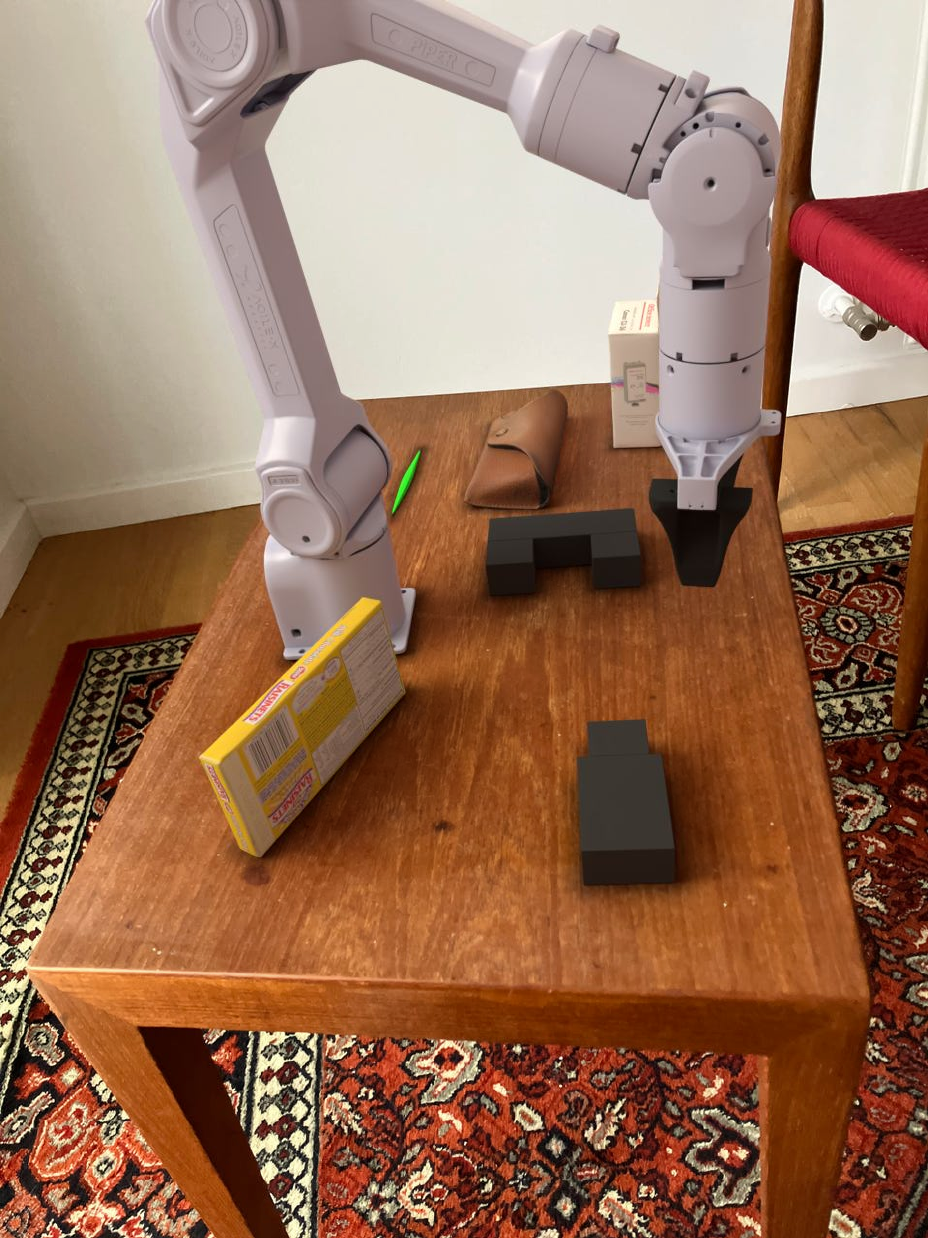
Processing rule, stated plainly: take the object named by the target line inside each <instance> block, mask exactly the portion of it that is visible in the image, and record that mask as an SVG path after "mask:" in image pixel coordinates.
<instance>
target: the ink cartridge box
mask: <svg viewBox="0 0 928 1238" xmlns="http://www.w3.org/2000/svg"><path fill="white" fill-rule="evenodd" d="M656 287H657V288H656V294H655V299H640V300H638V299H637V300H621V301H616V302H615V304H614V307H613V311H612V315H611V318H610V322H609V326H608V332H607V339H608V352H609V353H608V354H609V372H610V373H609V375H610V391H611V392H610V393H611V414H612V415H611V416H612V417H611V419H612V435H613V436H612V439H613V440H612V441H613V448H614V449H624V448H625V449H627V448H628V449H629V448H631V449H632V448H660V447H663V446H662V444H661V442H660V440H659V438H658V436H657V434H656V429H655V420H656V415H657V413H658V412H659V280H658V282H657V286H656Z"/></svg>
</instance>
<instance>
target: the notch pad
mask: <svg viewBox="0 0 928 1238" xmlns="http://www.w3.org/2000/svg"><path fill="white" fill-rule="evenodd" d="M635 513H636V512H635V509H634V508H633V507H630V508H629V507H628V508H615V509H613V508H612V509H603V510H602V509H601V510H589V511H587V510H586V511H576V512H575V511H574V512H560V513H546V514H531V515H518V516H517V515H516V516H504V517H490V518H489V519H488V520H489V521H488V530H487V542H486V543H487V544H486V556H485V572H486V573H485V574H486V579H487V587H488V595H489V596H506V595H521V594H535V593H536V591H537V590H536V589H537V587H536V586H537V585H536V583H537V582H536V581H537V579H536V578H537V574H536V573H537V569H547V568H562V567H563V568H564V567H577V566H580V567H581V566H591V570H592V583H593V589H594V590H602V589H618V588H635V587H641V586H642V553H641V548H640V541H639V533H638V527H637V521H636V514H635Z"/></svg>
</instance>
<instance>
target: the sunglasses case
mask: <svg viewBox="0 0 928 1238" xmlns="http://www.w3.org/2000/svg"><path fill="white" fill-rule="evenodd" d="M568 415H569V403H568V400H567V398H566V396H565V394H563V393H562V391H560V390H558V389H557V388H549V389H548V390H546V391H544V392H543V393H541V394H539V395H538V396H536V397H534V398H533V399H531V400H530V401H529V402H527V403H526V404H525V405H523V406H521V407H519V408H515V409H514V410H512V411H510V412H507V413H506V414H503V415H501V416H498V417H497V418H495V419H493V420H492V421H491V423H490V425H489V429H488V432H487V436H486V440H485V442H484V444H483V445H484V446H483V447H482V451H481V453H480V456H479V459H478V461H477V464H476V466H475V469H474V472H473V474H472V476H471V479H470V481H469V484H468V486H467V487H466V491H465V494H464V499H463V503H464V504H467V505H469V506H472V507H477V508H486V509H492V510H493V509H494V510H519V511H520V510H522V511H523V510H524V511H525V510H526V511H527V510H528V511H529V510H530V511H531V510H535V511H537V510H540V509H541V508H543V507H545V506H546V505H547V504H548V503H549V501H550V500H551V499H552V494H553V491H554V485H555V480H556V476H557V475H556V473H557V470H558V464H559V460H560V454H561V448H562V443H563V440H564V439H563V438H564V434H565V429H566V426H567V425H566V424H567V421H568Z"/></svg>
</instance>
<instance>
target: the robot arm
mask: <svg viewBox="0 0 928 1238" xmlns="http://www.w3.org/2000/svg"><path fill="white" fill-rule="evenodd" d="M144 25H145V27H146V30H147V33H148V36H149V39H150V42H151V45H152V47H153V50H154V53H155V55H156V58H157V62H158V93H159V94H158V114H159V115H158V121H159V122H158V123H159V133H160V137H161V142H162V145H163V149H164V151H165V154H166V156H167V159H168V162H169V164H170V165H169V166H170V168H171V170H172V173H173V176H174V178H175V180H176V183H177V187H178V189H179V192H180V194H181V197H182V200H183V202H184V205H185V208H186V210H187V213H188V216H189V219H190V221H191V224H192V227H193V229H194V232H195V236H196V238H197V241H198V243H199V246H200V249H201V251H202V254H203V257H204V260H205V262H206V265H207V267H208V270H209V273H210V276H211V278H212V281H213V284H214V286H215V289H216V292H217V294H218V297H219V300H220V303H221V306H222V308H223V311H224V314H225V316H226V319H227V322H228V324H229V327H230V329H231V332H232V335H233V338H234V341H235V343H236V346H237V349H238V352H239V354H240V357H241V359H242V362H243V365H244V369H245V371H246V373H247V376H248V379H249V381H250V384H251V387H252V389H253V392H254V395H255V398H256V400H257V403H258V405H259V408H260V411H261V414H262V417H263V420H264V422H263V428H262V432H261V437H260V441H259V446H258V450H257V454H256V457H255V458H256V459H255V465H254V469H255V472H256V475H257V478H258V480H259V483H260V488H261V498H260V505H259V506H260V514H261V519H262V522H263V524H264V526H265V528H266V530H267V531H268V533H269V535H268V537H267V538H266V542H265V547H264V552H263V553H264V554H263V571H264V581H265V586H266V590H267V592H268V596H269V600H270V602H271V605H272V610H273V612H274V616H275V620H276V622H277V625H278V628H279V632H280V635H281V638H282V641H283V645H284V649H283V657H284V658H283V659H285V660H287V661H293V660H296V661H297V660H299V659H300V658H301V657H302V656H303V655H304V654H306V653H307V652H308V651H309V650H310V649H311V648H312V647H313V646H314V645H315V644H316V643H317V642H318V641H319V640H320V639H321V638H322V637H323V636H324V635H325V634H326V633H327V632H328V631H329V630H330V629H331V628H332V627H333V626H334V625H335V624H336V623H337V622H338V621H339V620H340V619H341V618H342V617H343V616H344V615H345V614H346V613H347V612H348V611H349V610H350V609H351V608H352V607H353V606H354V605H355V604H356V603H357V602H359V601H360V600H361V598H362V597H365V598H370V599H375V600H380V601H381V603H382V607H383V611H384V615H385V618H386V622H387V626H388V630H389V633H390V637H391V641H392V644H393V648H394V652H395V655H401V654H404V653H405V652H406V651H407V648H408V643H409V636H410V630H411V626H412V618H413V613H414V608H415V602H416V597H417V592H416V589H415V588H413V587H405V588H404V587H403V588H402V587H401V583H400V577H399V572H398V567H397V562H396V557H395V553H394V547H393V543H392V538H391V537H392V536H391V534H390V528H389V523H388V518H387V513H386V510H385V500H384V495H383V492H382V491H383V490H384V489H385V488H386V487H387V486H388V484H389V482H390V480H391V478H392V474H393V459H392V456H391V453H390V451H389V448H388V446H387V444H386V443H385V442H384V440H383V439H382V438H381V437H380V436H379V434H378V433H377V432H376V431H375V430H374V428H373V426H372V425H371V423H370V421H369V418H368V415H367V412H366V409H365V407H364V404H363V403H361V402H360V401H358V400H356V399H354V398H351V397H350V396H347V395H345V394H344V393H342V390H341V387H340V384H339V381H338V378H337V375H336V372H335V368H334V365H333V361H332V359H331V356H330V352H329V349H328V346H327V342H326V340H325V336H324V333H323V330H322V327H321V324H320V321H319V317H318V314H317V311H316V308H315V307H316V306H315V304H314V301H313V298H312V294H311V292H310V288H309V285H308V282H307V279H306V275H305V272H304V270H303V266H302V263H301V260H300V256H299V253H298V249H297V246H296V244H295V241H294V238H293V235H292V231H291V228H290V225H289V221H288V218H287V215H286V212H285V208H284V205H283V203H282V200H281V196H280V193H279V189H278V187H277V183H276V180H275V177H274V173H273V170H272V167H271V164H270V161H269V158H268V155H267V150H266V145H267V141H268V139H269V137H270V135H271V133H272V132H273V130H274V128H275V126H276V123H277V122H278V120H279V118H280V117H281V115H282V113H283V110H284V109H285V107H286V105H287V103H288V101H289V100H290V97H291V95H292V94H293V93H294V92H295V91H296V90H297V89H298V88H299V87H300V86H301V85H302V84H304V83H305V81H307V79H309V78H310V77H311V76H312V75H313V74H315V73H316V71H318V70H321V69H324V68H328V67H333V66H337V65H342V64H347V63H352V62H355V61H367V62H370V63H373V64H375V65H379V66H382V67H384V68H387V69H389V70H392V71H394V72H397V73H400V74H401V75H405V76H407V77H410V78H413V79H415V80H418V81H421V82H422V83H425V84H427V85H431V86H432V87H433V86H434V87H437V88H438V89H442V90H444V91H447V92H449V93H451V94H454V95H457V96H460V97H462V98H465V99H468V100H470V101H473V102H475V103H477V104H481V105H483V106H485V107H488V108H491V109H494V110H496V111H499V112H501V113H504V114H506V115H507V116H508V117H509V119H510V121H511V123H512V125H513V127H514V129H515V132H516V134H517V136H518V138H519V142H520V143H521V145H522V147H523V149H524V150H525V151H526V152H527V153H529V154H532V155H534V156H536V157H539V158H540V159H543V160H545V161H547V162H549V163H552V164H554V165H556V166H558V167H561V168H563V169H564V170H567V171H570V172H572V173H574V174H577V175H579V176H581V177H583V178H585V179H588V180H589V181H592V182H594V183H596V184H599V185H601V186H604V187H605V188H608V189H610V190H612V191H615V192H616V193H619V194H621V195H623V196H626V197H628V198H630V199H633V200H637V201H638V200H645V201H646V200H647V201H649V203H650V207H651V210H652V212H653V214H654V217H655V219H656V220H657V222H658V224H660V226H661V227H662V259H661V260H660V263H659V268H658V270H659V271H658V281H659V412H658V413H657V415H656V420H655V429H656V434H657V436H658V438H659V440H660V442H661V444H662V446H661V447H662V448H663V450H664V451H665V454H666V456H667V457H668V460H669V461H670V463H671V465H672V467H673V470H674V472H675V473H676V476H677V478H652V479H651V482H650V486H649V490H648V504H649V508H650V510H651V512H652V513H653V514H654V516H655V517H656V518H657V520H658V521H659V522H660V524H661V526H662V527H663V530H664V532H665V534H666V536H667V539H668V542H669V545H670V549H671V552H672V557H673V560H674V566H675V569H676V574H677V577H678V580H679V582H680V585H681V586H682V587H695V588H696V587H697V588H715V587H716V586H717V584H718V581H719V579H720V577H721V574H722V569H723V566H724V561H725V558H726V554H727V551H728V546H729V544H730V541H731V539H732V536H733V535H734V532H735V530H736V529H737V527H738V526H739V524H740V523H741V522H742V520H743V519H744V518H745V517H746V516H747V514H748V512H749V509H750V508H751V505H752V503H753V493H754V488H753V487H742V486H741V487H740V486H735V484H736V479H737V476H738V472H739V470H740V469H739V468H740V465H741V462H742V460H743V457H744V455H745V453H746V451H747V450H748V449H749V448H750V447H751V446H752V445H753V444H754V443H755V442H756V441H757V440H758V439H759V438H760V437H774V436H775V437H776V436H777V435H779V434H780V432H781V425H782V413H781V412H780V411H779V410H776V409H764V408H761V407H762V395H763V393H762V392H763V380H764V367H765V354H766V341H767V327H768V316H769V315H768V312H769V300H770V285H771V272H772V271H771V270H772V256H771V253H770V251H769V248H768V247H769V246H770V243H771V241H772V233H773V232H772V231H773V222H772V218H771V216H770V213H771V212H770V211H771V206H772V204H773V202H774V199H775V196H776V193H777V188H778V184H779V183H778V182H779V180H778V178H777V175H778V172H779V168H780V163H781V157H782V138H781V132H780V129H779V125H778V123H777V121H776V119H775V117H774V115H773V113H772V112H771V111H770V109H769V108H768V107H767V106H766V105H765V104H764V103H763V102H761V101H760V100H759V99H757V98H755V97H754V96H752V95H751V94H750V92H748V90H746V89H745V88H744V87H743V86H737V85H736V86H735V85H727V86H719V87H716V88H715V87H714V88H712V89H710V90H707V89H708V86H709V84H710V82H711V78H710V76H708V75H706V74H704V73H702V72H700V71H697V70H695V69H692V70H691V71H690V72H689V74H688V75H687V78H686V77H683V76H680V75H677V74H676V73H674V72H671V71H670V70H666V69H664V68H662V67H659V66H657V65H655V64H652V63H651V62H649V61H646V60H644V59H641V58H639V57H637V56H635V55H632V54H630V53H628V52H626V51H623V50H621V49H619V48H617V47H618V44H619V41H620V39H621V35H620V33H619V32H618V31H615V30H614V29H611V28H609V27H607V26H604V25H602V24H596V25H595V26H593V27H592V28H591V29H589V32H588V34H587V35H586V34H584V33H582V32H579V31H578V30H576V29H573V28H567V29H564V30H563V31H561V32H559V33H557V34H555V35H553V36H552V37H550V38H548V39H546V40H545V41H543V42H541V43H540V44H534V43H532V42H530V41H528V40H526V39H524V38H522V37H520V36H517V35H516V34H514V33H512V32H510V31H508V30H506V29H504V28H502V27H500V26H498V25H496V24H494V23H491V22H490V21H488V20H486V19H485V18H482V17H480V16H479V15H476V14H474V13H472V12H470V11H468V10H466V9H464V8H462V7H460V6H458V5H456V4H454V3H453V2H450V1H448V0H152V1H151V4H150V5H149V8H148V10H147V12H146V15H145V16H144Z"/></svg>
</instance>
